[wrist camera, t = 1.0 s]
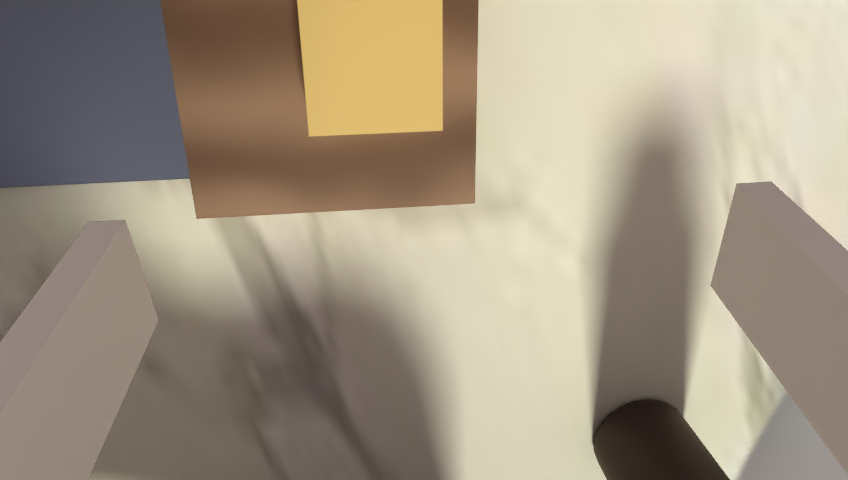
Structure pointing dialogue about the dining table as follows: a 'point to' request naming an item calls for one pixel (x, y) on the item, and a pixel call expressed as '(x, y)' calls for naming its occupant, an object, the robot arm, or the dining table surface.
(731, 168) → the dining table surface
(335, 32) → the yellow flat block
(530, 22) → the dining table surface
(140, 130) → the mat
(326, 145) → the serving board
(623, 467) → the bottle
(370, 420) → the dining table surface
